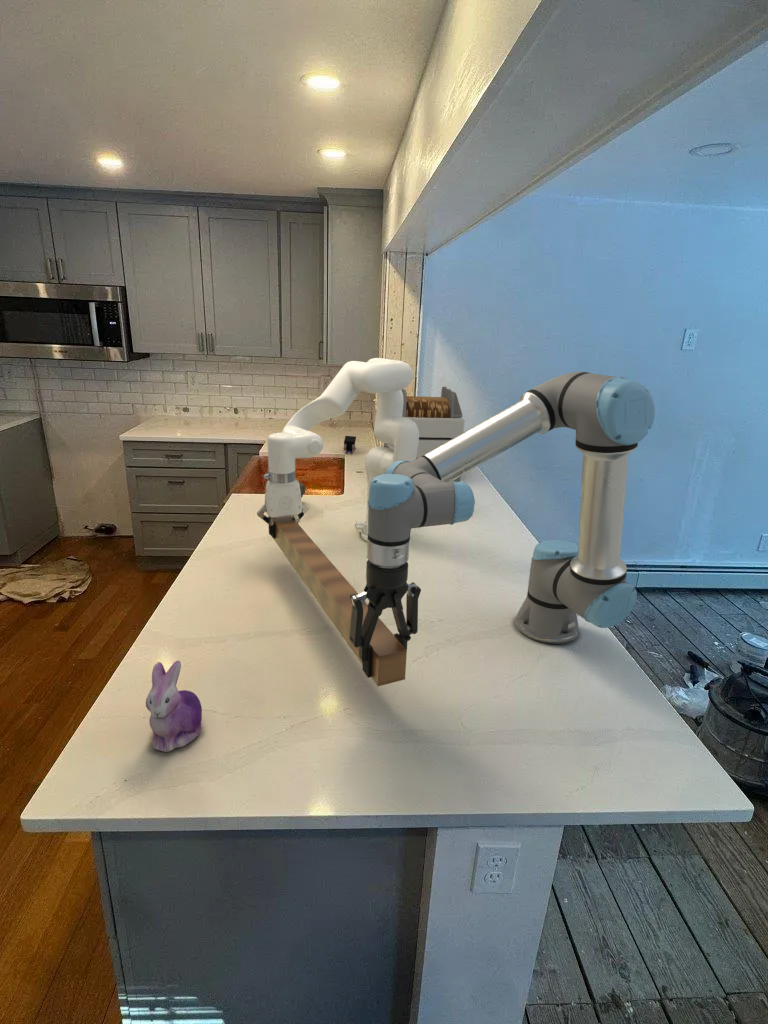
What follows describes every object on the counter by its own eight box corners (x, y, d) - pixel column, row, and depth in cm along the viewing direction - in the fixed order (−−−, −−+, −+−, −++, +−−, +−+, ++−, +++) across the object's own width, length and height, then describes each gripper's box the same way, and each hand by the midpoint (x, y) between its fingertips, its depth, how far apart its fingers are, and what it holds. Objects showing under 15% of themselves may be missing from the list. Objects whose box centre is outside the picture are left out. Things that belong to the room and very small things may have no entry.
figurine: (153, 762, 97) (144, 689, 92) (146, 724, 105) (138, 655, 100) (210, 745, 101) (204, 674, 96) (199, 710, 109) (193, 643, 104)
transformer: (382, 463, 289) (386, 382, 275) (445, 464, 293) (451, 384, 279) (390, 482, 257) (394, 392, 243) (460, 483, 261) (468, 394, 247)
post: (270, 535, 171) (270, 515, 168) (289, 533, 173) (289, 513, 171) (377, 686, 105) (378, 656, 103) (405, 679, 107) (407, 650, 105)
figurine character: (355, 457, 303) (356, 447, 317) (355, 444, 300) (356, 434, 313) (342, 457, 303) (344, 447, 316) (343, 443, 300) (344, 434, 313)
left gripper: (255, 483, 155) (258, 544, 161) (315, 477, 162) (315, 535, 168) (248, 475, 161) (251, 534, 167) (306, 470, 168) (307, 526, 175)
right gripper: (346, 577, 94) (344, 693, 102) (443, 561, 102) (434, 669, 110) (330, 559, 101) (329, 669, 109) (423, 545, 109) (415, 648, 117)
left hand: (283, 534), depth 168 cm, fingers closed on post, 5 cm apart
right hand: (382, 669), depth 109 cm, fingers closed on post, 6 cm apart
